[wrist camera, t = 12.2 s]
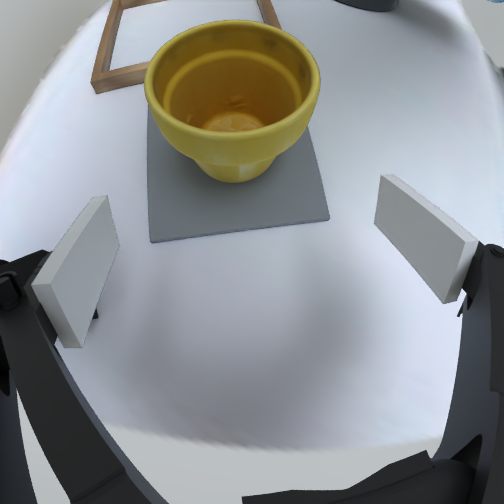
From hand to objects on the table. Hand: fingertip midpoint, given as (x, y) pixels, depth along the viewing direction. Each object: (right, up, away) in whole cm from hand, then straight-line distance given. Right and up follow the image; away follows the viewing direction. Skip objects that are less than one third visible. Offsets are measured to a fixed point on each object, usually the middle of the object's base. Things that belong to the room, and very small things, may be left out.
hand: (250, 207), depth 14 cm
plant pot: (-1, +6, +11) cm, 13 cm away
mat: (-2, +6, +11) cm, 13 cm away
